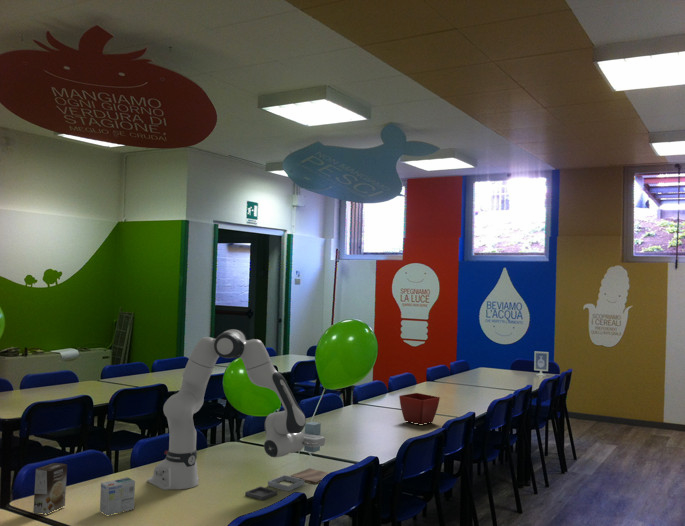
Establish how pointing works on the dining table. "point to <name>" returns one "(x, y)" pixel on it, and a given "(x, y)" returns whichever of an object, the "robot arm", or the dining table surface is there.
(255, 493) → the tray
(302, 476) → the walnut board
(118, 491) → the light bulb box
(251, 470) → the dining table surface
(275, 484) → the frame
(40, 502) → the coffee box
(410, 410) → the plant pot
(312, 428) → the blue-grey block
